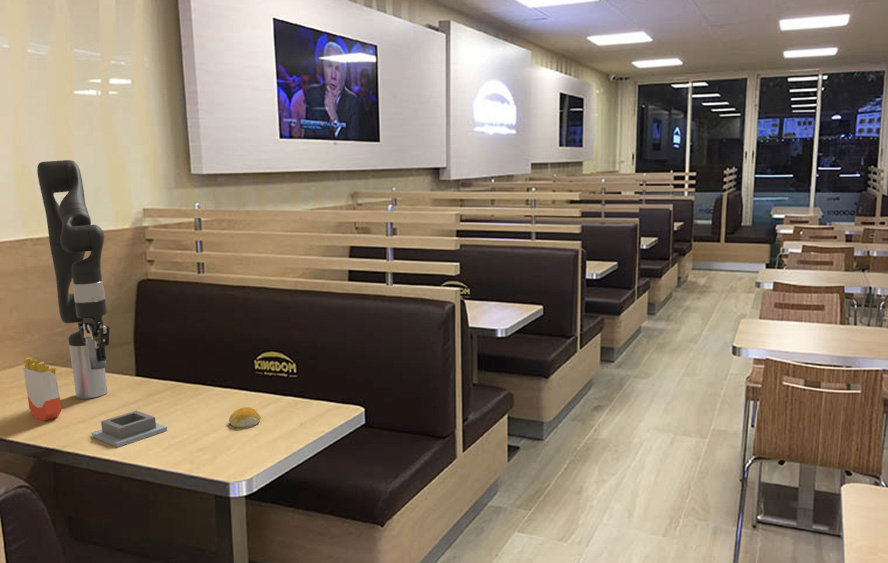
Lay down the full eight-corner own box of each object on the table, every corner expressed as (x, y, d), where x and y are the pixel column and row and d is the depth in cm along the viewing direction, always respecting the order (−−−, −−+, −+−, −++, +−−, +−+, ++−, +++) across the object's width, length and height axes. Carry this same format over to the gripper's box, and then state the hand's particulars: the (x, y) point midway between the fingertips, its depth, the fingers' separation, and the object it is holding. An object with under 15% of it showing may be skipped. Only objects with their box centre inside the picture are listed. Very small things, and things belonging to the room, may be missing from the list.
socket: (91, 436, 195) (90, 422, 194) (140, 420, 205) (139, 407, 205) (117, 447, 186) (115, 432, 185) (167, 430, 197) (165, 416, 196)
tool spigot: (87, 368, 199) (83, 333, 197) (102, 364, 202) (98, 330, 200) (94, 370, 196) (90, 334, 195) (109, 366, 199) (104, 331, 198)
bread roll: (256, 415, 206) (255, 401, 206) (263, 424, 199) (262, 410, 198) (226, 420, 203) (225, 407, 202) (232, 430, 195) (231, 416, 194)
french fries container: (46, 411, 217) (37, 353, 214) (63, 417, 211) (55, 358, 208) (30, 416, 214) (21, 357, 211) (47, 422, 207) (39, 362, 204)
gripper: (64, 299, 198) (72, 359, 200) (88, 303, 189) (96, 366, 191) (91, 294, 203) (99, 353, 206) (116, 298, 194) (123, 360, 197)
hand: (97, 359), depth 199 cm, fingers closed on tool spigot, 4 cm apart
